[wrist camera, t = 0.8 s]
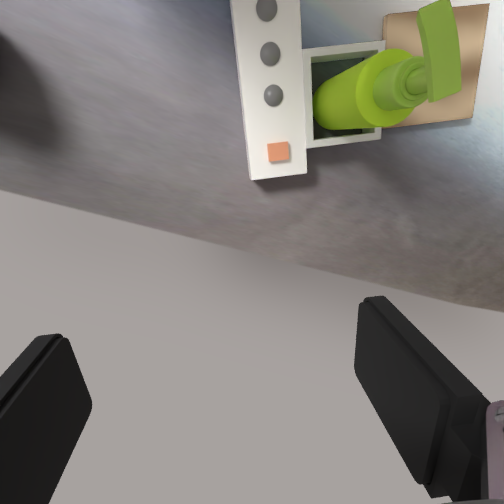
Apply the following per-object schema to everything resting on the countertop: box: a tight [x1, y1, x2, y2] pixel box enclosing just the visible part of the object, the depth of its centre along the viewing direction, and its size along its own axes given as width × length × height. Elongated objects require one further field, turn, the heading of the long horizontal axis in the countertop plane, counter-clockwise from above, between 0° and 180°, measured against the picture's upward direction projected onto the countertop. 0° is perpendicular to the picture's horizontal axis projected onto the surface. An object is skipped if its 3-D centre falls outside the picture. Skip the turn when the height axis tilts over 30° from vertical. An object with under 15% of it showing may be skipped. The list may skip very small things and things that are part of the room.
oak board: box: [381, 3, 490, 129], centre depth 36 cm, size 12×12×1 cm
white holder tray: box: [229, 0, 386, 180], centre depth 34 cm, size 20×16×4 cm
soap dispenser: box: [312, 0, 461, 130], centre depth 28 cm, size 6×7×20 cm
